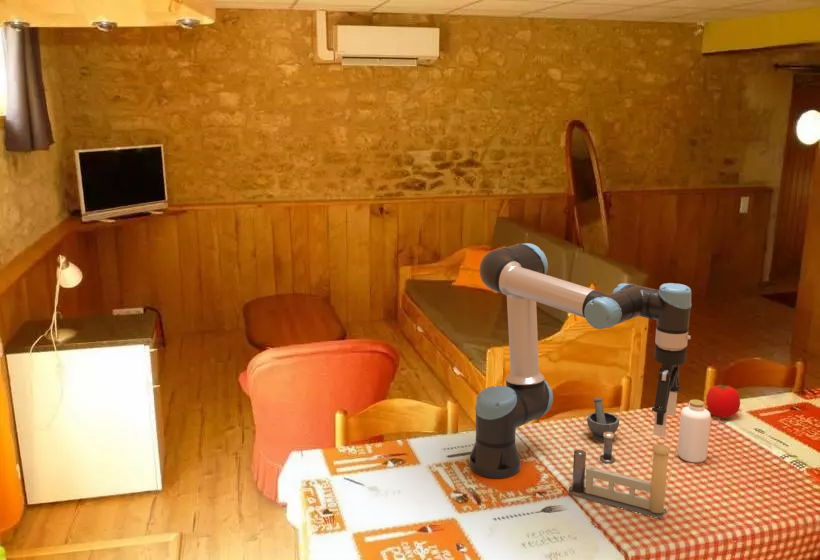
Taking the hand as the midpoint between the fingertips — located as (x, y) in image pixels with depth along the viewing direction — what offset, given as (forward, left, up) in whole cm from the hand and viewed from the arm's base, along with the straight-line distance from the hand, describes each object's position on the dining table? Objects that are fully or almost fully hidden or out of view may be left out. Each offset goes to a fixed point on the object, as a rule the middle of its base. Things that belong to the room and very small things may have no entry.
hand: (664, 424), depth 182 cm
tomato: (+6, +71, -25) cm, 75 cm away
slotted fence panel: (-9, -1, -24) cm, 25 cm away
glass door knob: (-19, +21, -25) cm, 38 cm away
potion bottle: (+2, +35, -25) cm, 43 cm away
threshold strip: (-10, -1, -25) cm, 27 cm away
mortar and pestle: (-25, +35, -25) cm, 50 cm away
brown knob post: (-21, -1, -25) cm, 32 cm away
